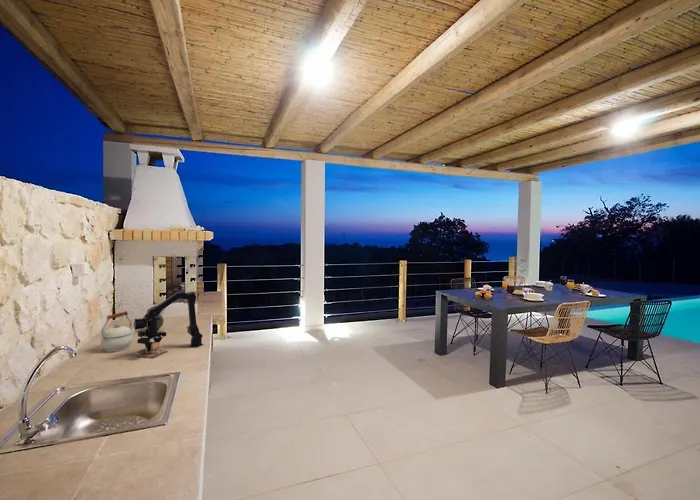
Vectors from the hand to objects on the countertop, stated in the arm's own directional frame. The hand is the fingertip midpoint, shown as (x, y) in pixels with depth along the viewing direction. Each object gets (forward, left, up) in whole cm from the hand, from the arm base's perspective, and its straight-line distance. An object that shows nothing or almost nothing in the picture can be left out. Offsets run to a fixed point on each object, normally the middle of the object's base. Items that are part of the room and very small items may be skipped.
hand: (152, 349), depth 213 cm
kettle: (+32, -5, -3) cm, 32 cm away
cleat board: (0, 0, -3) cm, 3 cm away
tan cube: (0, 0, -2) cm, 2 cm away
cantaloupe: (+42, -46, -3) cm, 62 cm away
